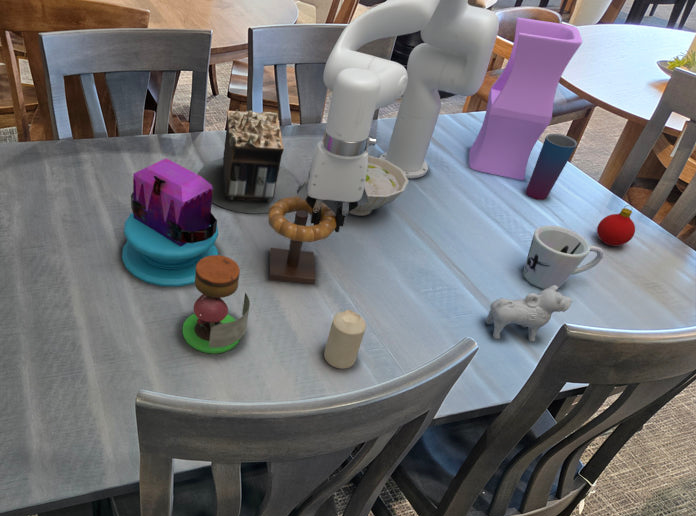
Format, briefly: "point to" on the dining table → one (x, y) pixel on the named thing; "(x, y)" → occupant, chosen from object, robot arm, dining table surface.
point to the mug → (557, 256)
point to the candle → (344, 339)
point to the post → (293, 259)
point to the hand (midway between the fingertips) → (326, 226)
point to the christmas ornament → (616, 228)
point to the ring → (299, 231)
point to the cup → (550, 165)
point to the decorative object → (169, 225)
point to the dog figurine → (527, 310)
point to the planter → (250, 165)
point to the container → (523, 97)
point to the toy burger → (215, 307)
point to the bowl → (381, 184)
